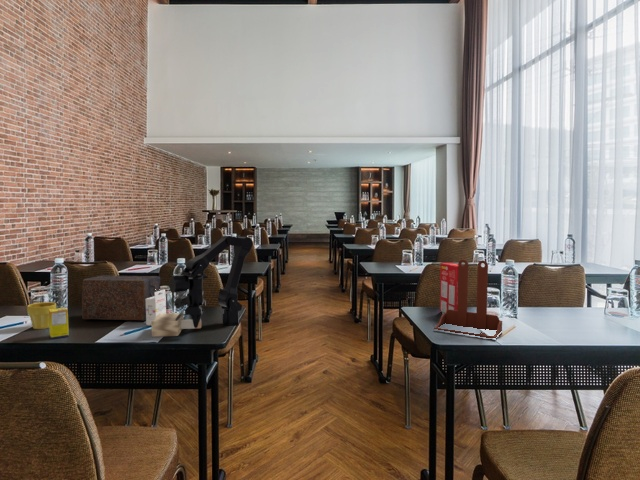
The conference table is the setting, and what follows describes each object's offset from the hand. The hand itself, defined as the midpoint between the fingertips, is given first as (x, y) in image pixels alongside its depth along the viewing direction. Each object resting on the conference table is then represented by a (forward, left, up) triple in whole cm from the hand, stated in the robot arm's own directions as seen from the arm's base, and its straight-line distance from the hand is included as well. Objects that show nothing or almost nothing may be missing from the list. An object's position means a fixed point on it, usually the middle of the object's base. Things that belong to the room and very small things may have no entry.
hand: (196, 327), depth 179 cm
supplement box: (+52, +2, -2) cm, 52 cm away
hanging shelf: (-112, +17, -2) cm, 113 cm away
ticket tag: (+6, 0, 0) cm, 6 cm away
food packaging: (-119, -12, -2) cm, 120 cm away
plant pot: (+65, -14, -2) cm, 67 cm away
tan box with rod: (+11, 0, -2) cm, 11 cm away
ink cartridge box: (+19, -15, -2) cm, 24 cm away
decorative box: (+36, -28, -2) cm, 46 cm away
